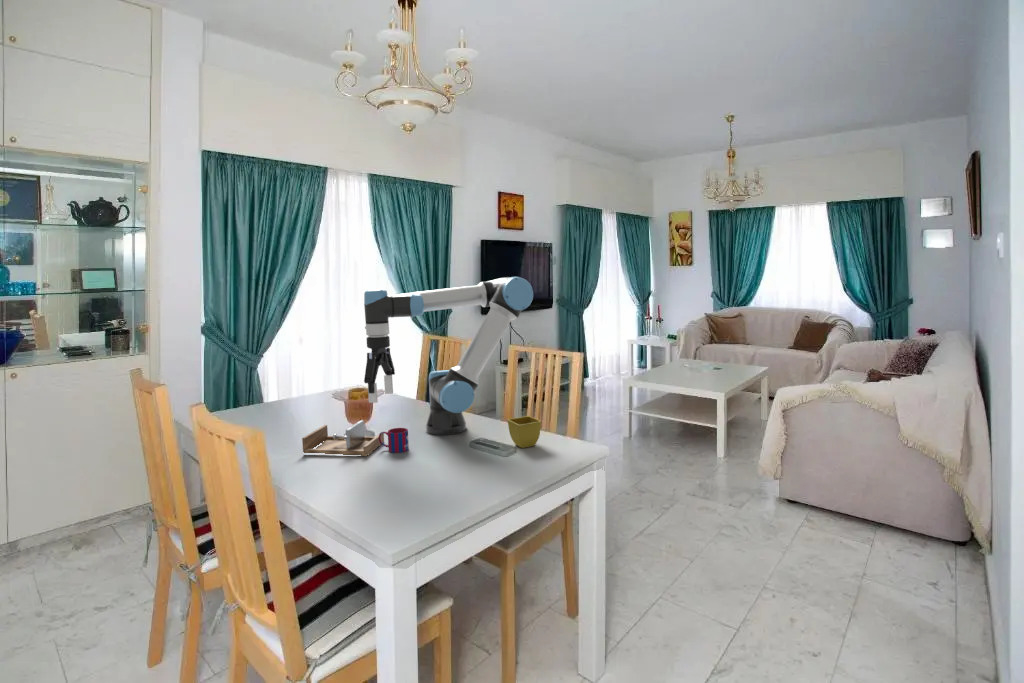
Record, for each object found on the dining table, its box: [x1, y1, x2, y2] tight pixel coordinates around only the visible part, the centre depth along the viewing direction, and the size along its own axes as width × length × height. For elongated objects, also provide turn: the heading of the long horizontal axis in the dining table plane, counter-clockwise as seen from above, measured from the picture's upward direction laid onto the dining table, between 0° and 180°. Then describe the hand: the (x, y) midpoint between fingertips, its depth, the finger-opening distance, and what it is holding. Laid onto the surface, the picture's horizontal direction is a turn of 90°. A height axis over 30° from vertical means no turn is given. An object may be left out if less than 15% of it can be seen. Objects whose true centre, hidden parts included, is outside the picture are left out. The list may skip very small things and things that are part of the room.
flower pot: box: [507, 415, 542, 449], centre depth 185 cm, size 9×9×9 cm
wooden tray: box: [301, 424, 385, 457], centre depth 186 cm, size 22×16×6 cm
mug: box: [378, 427, 410, 454], centre depth 184 cm, size 7×10×7 cm
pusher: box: [332, 420, 366, 450], centre depth 186 cm, size 8×12×7 cm, turn 173°
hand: (381, 397), depth 184 cm, fingers open, 13 cm apart
